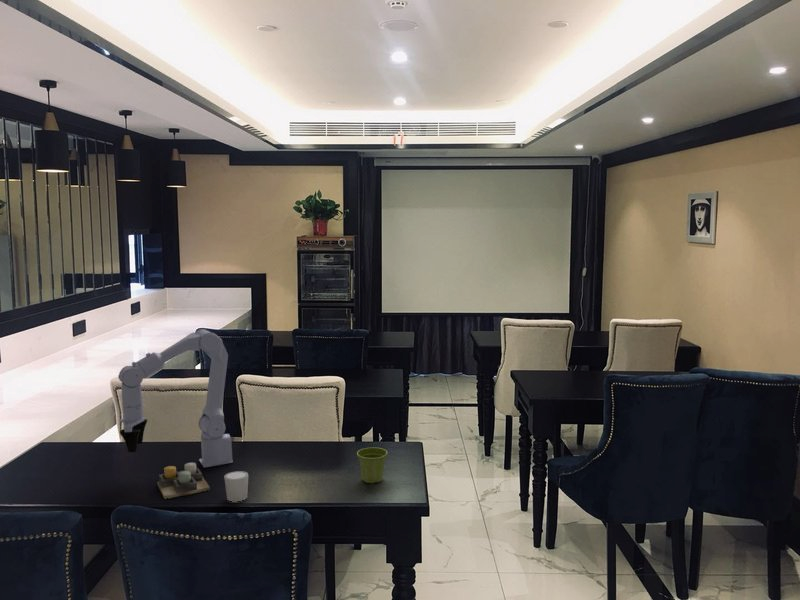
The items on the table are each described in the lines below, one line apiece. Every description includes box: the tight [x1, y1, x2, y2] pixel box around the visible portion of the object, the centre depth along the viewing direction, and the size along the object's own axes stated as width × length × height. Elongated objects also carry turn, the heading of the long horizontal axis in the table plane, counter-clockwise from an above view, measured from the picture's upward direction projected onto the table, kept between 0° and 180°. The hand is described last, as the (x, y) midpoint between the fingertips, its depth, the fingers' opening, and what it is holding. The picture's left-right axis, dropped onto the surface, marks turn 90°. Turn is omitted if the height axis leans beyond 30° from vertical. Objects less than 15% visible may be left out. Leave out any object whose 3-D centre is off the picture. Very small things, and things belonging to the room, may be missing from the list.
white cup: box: [223, 470, 249, 503], centre depth 199 cm, size 7×7×7 cm
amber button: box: [163, 465, 177, 479], centre depth 209 cm, size 3×3×3 cm
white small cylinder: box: [184, 462, 197, 475], centre depth 212 cm, size 3×3×3 cm
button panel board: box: [156, 467, 211, 500], centre depth 208 cm, size 13×12×3 cm
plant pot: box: [356, 447, 388, 484], centre depth 211 cm, size 9×9×9 cm
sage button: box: [179, 470, 191, 485], centre depth 205 cm, size 3×3×3 cm
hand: (135, 447), depth 214 cm, fingers open, 7 cm apart
